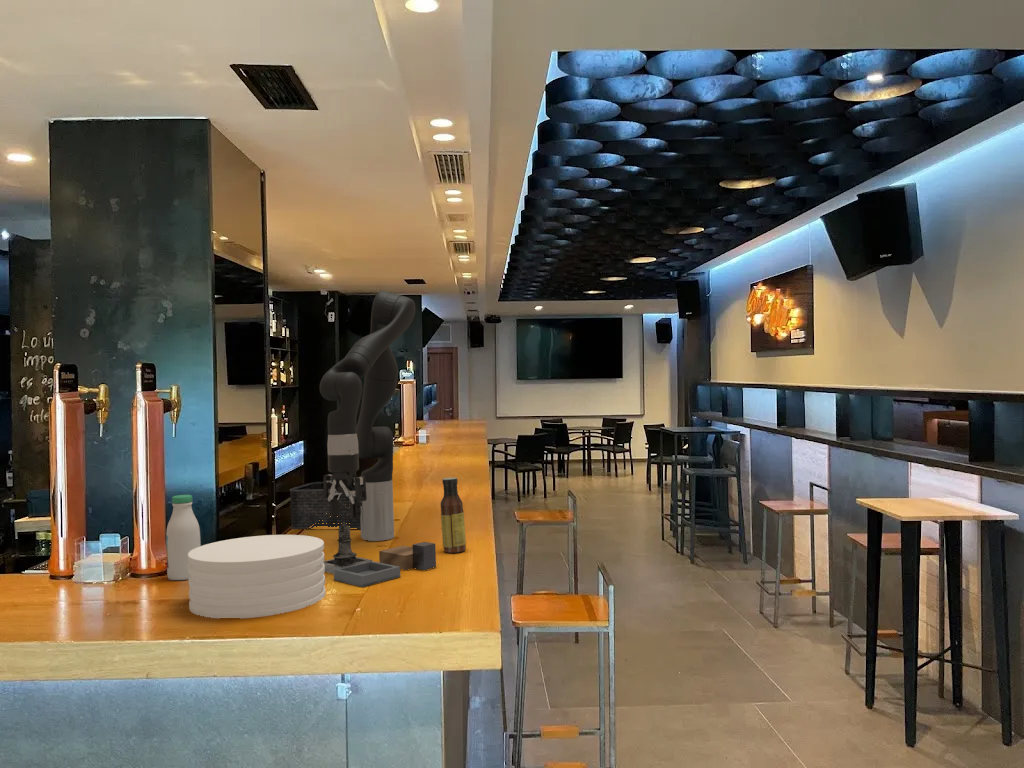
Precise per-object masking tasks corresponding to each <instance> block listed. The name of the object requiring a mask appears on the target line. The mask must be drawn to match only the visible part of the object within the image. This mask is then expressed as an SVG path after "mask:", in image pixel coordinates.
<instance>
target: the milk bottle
mask: <svg viewBox="0 0 1024 768" xmlns="http://www.w3.org/2000/svg"><path fill="white" fill-rule="evenodd" d="M171 502H172V504H171V506H172V507H173V508H172V513H171V516H170V518H169V521H168V523H167V526H166V527H167V528H166V537H165V539H166V542H165V544H166V546H165V547H166V573H167V574H166V575H167V578H168V580H170V581H185V580H188V579H189V576H190V575H189V573H188V565H189V564H190V563H189V562H188V553H189V552H190V551H191V550H193V549H195V548H197V547H200V546H202V544H201V529H200V525H199V522H198V519H197V518H196V516H195V513H194V511H193V507H192V504H193V495H192V494H179V495H174V496H172V497H171Z"/></svg>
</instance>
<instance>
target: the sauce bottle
mask: <svg viewBox="0 0 1024 768" xmlns="http://www.w3.org/2000/svg"><path fill="white" fill-rule="evenodd" d="M458 482H459V481H458V478H457V477H444V478H442V485H443V497H442V499H441V501H440V520H441V521H440V522H441V535H442V537H441V539H442V548H443V551H444V552H445V553H446V554H449V553H450V554H457V553H458V554H459V553H462V552H465V550H466V549H467V546H466V544H467V541H466V540H467V539H466V530H465V529H466V527H465V525H466V524H465V513H464V504H463V500H462V499H461V497H460V496H459V491H458Z"/></svg>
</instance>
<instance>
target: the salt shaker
mask: <svg viewBox="0 0 1024 768" xmlns="http://www.w3.org/2000/svg"><path fill="white" fill-rule="evenodd" d="M352 540H353V539H352V538H351V529H350V527H349V526H348V525H346V524H345V522H343V525H341V526H340V527H339V529H338V539H337V540H336V541H337V543H338V550H337V552H336V554H333V555H332V557H333V559H334V560H335V562H336V564H337V565H340V566H344V565H349V564H353V563H354V562H355V559H356V557H357V555H358V554H357V553H356V552H354V551H353V550H352V544H351V543H352V542H351V541H352Z"/></svg>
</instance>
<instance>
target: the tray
mask: <svg viewBox="0 0 1024 768" xmlns="http://www.w3.org/2000/svg"><path fill="white" fill-rule="evenodd" d="M398 577H400V578H401V570H400V567H399V566H394V565H389V564H384V563H380V561H374V560H372V561H368V562H364V563H360V564H356V565H351V566H347V567H343V568H339V569H335V570H334V574H333V581H336V582H339V583H343V584H348V585H353V586H357V587H361V588H366V587H370V586H372V584H374V585H376V584H375V583H377V584H380V583H379V582H381V583H384V582H383V581H385V582H388V581H387V580H389V581H391V579H392V580H395V579H394V578H396V579H399V578H398ZM369 585H370V586H369Z"/></svg>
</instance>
